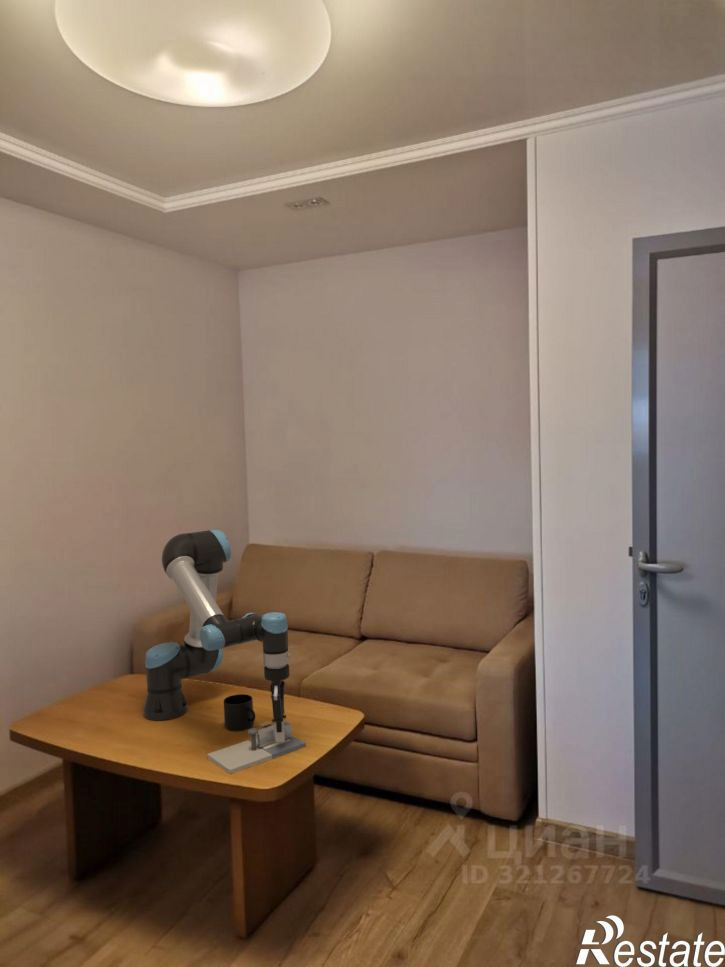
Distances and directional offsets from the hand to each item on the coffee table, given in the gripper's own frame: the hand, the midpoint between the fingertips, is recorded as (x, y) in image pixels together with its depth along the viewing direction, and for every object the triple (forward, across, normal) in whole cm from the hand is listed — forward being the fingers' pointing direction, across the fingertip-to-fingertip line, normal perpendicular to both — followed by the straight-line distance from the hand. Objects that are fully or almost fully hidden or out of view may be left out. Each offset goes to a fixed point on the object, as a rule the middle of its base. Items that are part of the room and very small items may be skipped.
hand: (280, 740), depth 222 cm
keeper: (+2, +5, +5) cm, 8 cm away
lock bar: (+1, +3, +3) cm, 4 cm away
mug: (+3, +19, +15) cm, 24 cm away
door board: (+3, -1, +7) cm, 8 cm away
